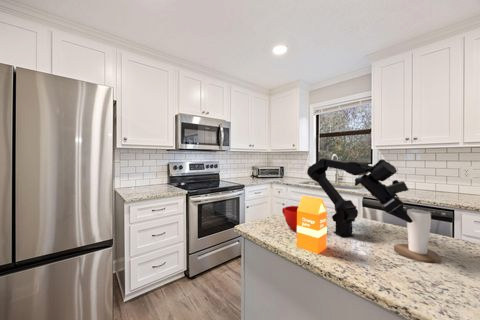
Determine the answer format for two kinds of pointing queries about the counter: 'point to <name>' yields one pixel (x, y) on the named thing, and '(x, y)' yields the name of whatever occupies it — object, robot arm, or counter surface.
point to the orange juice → (311, 224)
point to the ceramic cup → (291, 216)
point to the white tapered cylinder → (418, 231)
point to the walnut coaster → (404, 251)
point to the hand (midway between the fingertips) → (409, 218)
